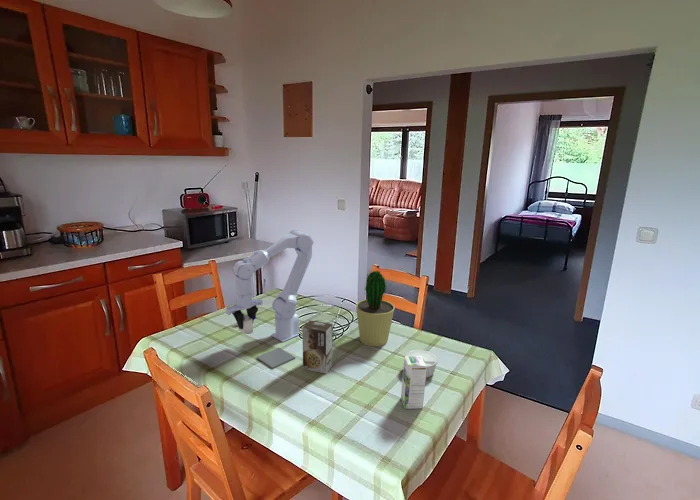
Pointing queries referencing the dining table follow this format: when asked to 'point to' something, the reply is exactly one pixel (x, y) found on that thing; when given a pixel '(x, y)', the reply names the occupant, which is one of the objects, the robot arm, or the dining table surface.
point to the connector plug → (247, 325)
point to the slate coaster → (275, 358)
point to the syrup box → (413, 382)
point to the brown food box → (317, 346)
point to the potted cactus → (374, 312)
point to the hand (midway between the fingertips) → (245, 326)
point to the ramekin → (428, 358)
